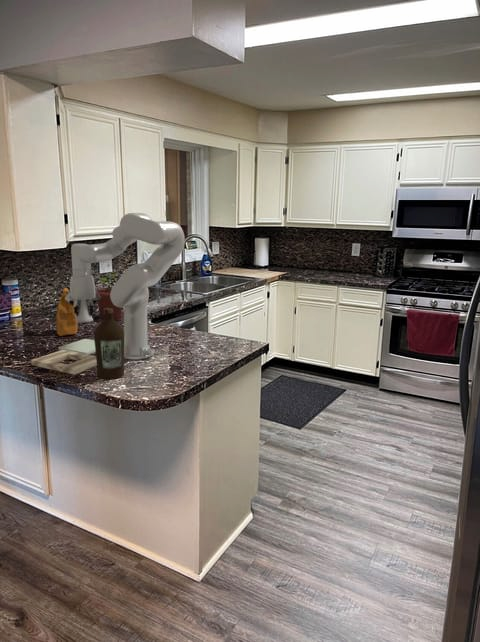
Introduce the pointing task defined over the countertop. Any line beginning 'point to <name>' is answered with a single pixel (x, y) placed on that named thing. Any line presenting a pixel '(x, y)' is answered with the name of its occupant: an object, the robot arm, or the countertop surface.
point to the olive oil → (109, 347)
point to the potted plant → (107, 302)
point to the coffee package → (66, 317)
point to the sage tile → (80, 346)
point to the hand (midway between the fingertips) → (84, 314)
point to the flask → (83, 313)
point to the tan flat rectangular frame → (73, 368)
